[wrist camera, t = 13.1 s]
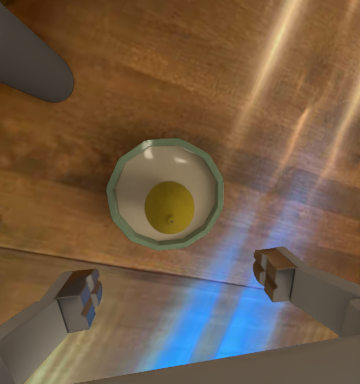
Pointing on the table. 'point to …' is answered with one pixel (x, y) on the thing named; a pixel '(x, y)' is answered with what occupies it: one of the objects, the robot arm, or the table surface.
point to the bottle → (31, 62)
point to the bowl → (156, 173)
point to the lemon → (169, 207)
